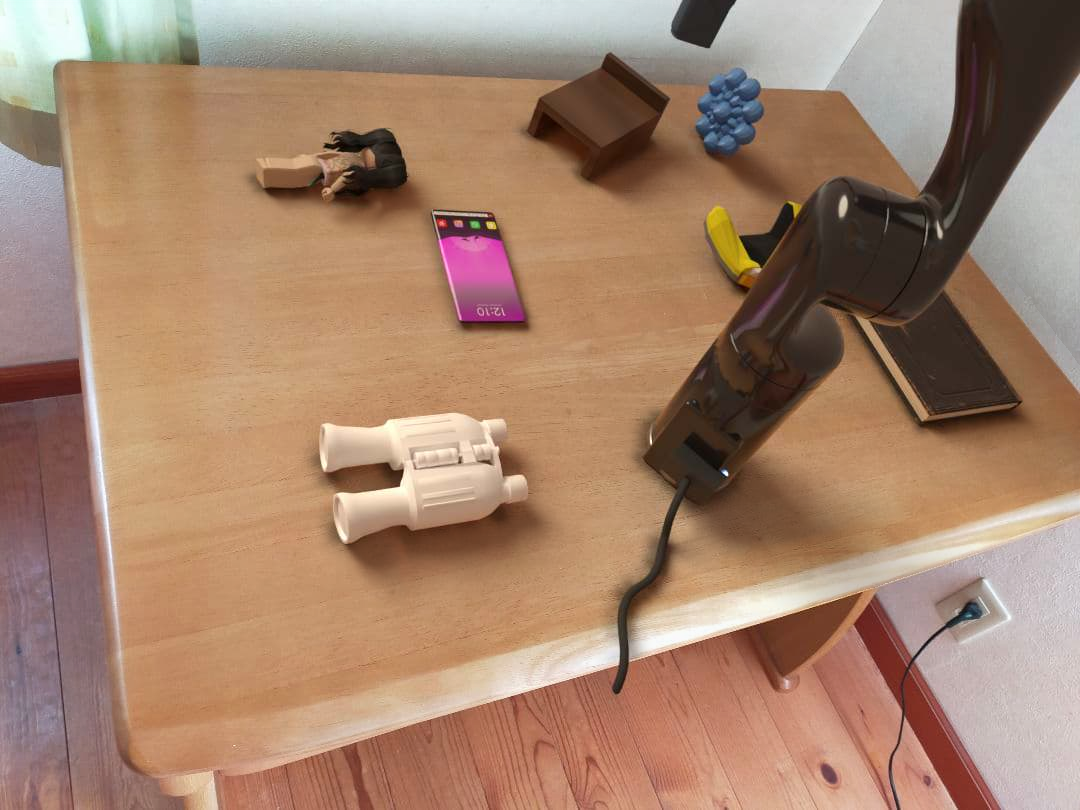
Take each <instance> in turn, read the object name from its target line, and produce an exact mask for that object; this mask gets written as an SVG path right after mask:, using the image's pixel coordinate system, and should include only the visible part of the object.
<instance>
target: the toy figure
mask: <svg viewBox="0 0 1080 810" xmlns="http://www.w3.org/2000/svg"><path fill="white" fill-rule="evenodd" d="M391 130H392V128H390V127H380V128H375V129H372V130H369V131H366V132H365V133H364V132H361V133H360V132H358V131H356V130H355V131H352V130H351V129H347V130H341V131H340V130H338V129H334V131H331V132H330V133H329V136H328V140H327V141H329V140H330V141H329V142H330V143H329V142H323V147H322V149H327V150H328V151H327V150H324V151H321V152H319V153H315V154H306V153H302V154H299V155H297V156H296V157H294V158H293V157H292V158H287V157H286V158H285V157H266V158H263V157H258V158H255V170H256V172H255V173H256V175H255V176H256V179H257V181H258V182H259V184H260V185H261V187H262V188H263V189H266V188H279V189H280V188H281V189H282V188H284V189H295V188H296V189H297V188H298V189H300V188H304V187H311V186H313V185H315V184H318V183H320V182H321V183H322V185H323V187H324V188H323V189H322V190H321V196H322V198H323V200H324V202H330V201H332V200H334V198H335V195H338V196H340V197H342V200H343V199H345V200H346V196H347V199H348V198H350V196H351V198H354V197H361V199H362V198H364V196H367V195H368V194H369V192H370V191H371V192H373V191H374V190H377V191H378V192H380V191H381V190H387V191H388V190H393V191H396V189H399V188H400V189H402V188H403V186H404V185H406V184H407V181H408V178H409V177H410V174H408V171H407V163H406V160H405V158H404V157H403V151H402V148H401V147H400V145H399V143H398V142H397V139H396V136H395V134H394V132H393V131H391ZM336 131H337V132H336ZM338 131H339V132H338ZM334 136H335V137H334ZM330 137H331V138H330ZM331 142H332V143H331ZM331 184H332V185H331ZM329 185H330V187H326V186H329ZM346 186H355V187H357V188H349V187H346ZM394 189H395V190H394ZM389 192H392V191H389ZM352 196H353V197H352ZM343 197H345V198H343Z"/></svg>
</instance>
